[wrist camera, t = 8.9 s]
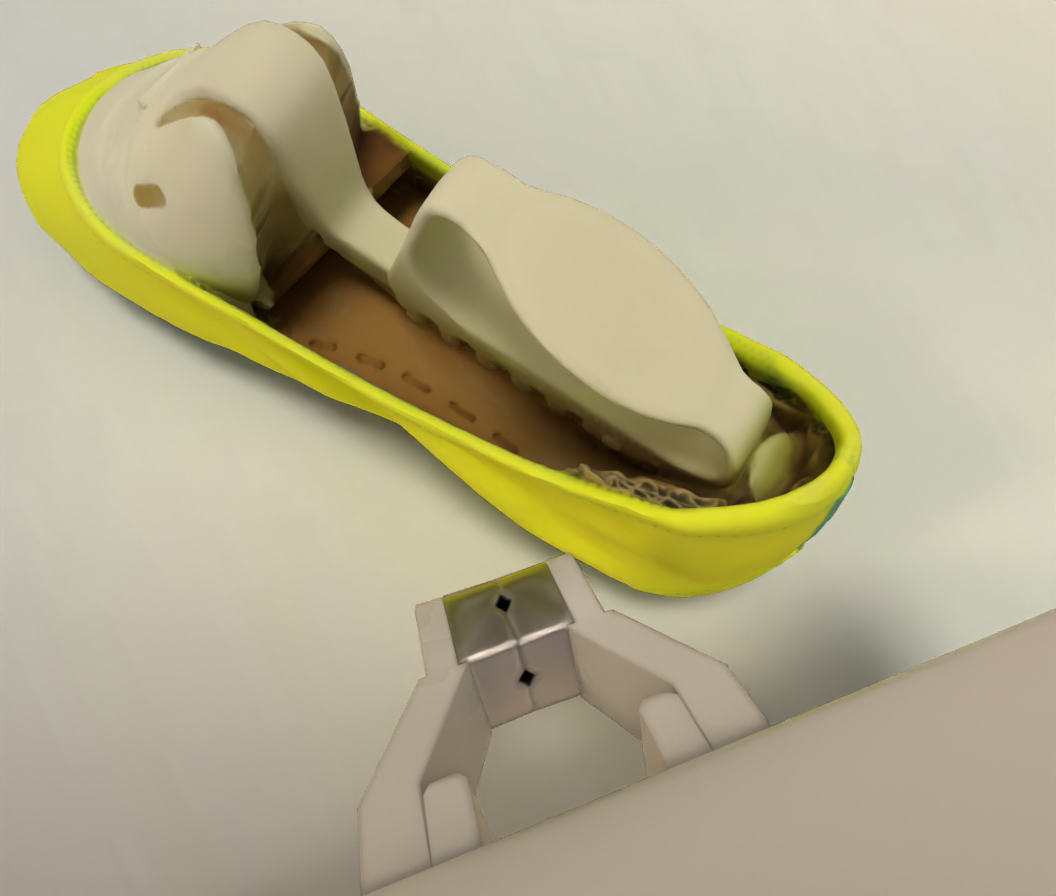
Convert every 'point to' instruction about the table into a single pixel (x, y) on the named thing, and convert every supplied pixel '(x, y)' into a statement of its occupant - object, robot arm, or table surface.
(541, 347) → the ballet flat
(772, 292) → the table surface
